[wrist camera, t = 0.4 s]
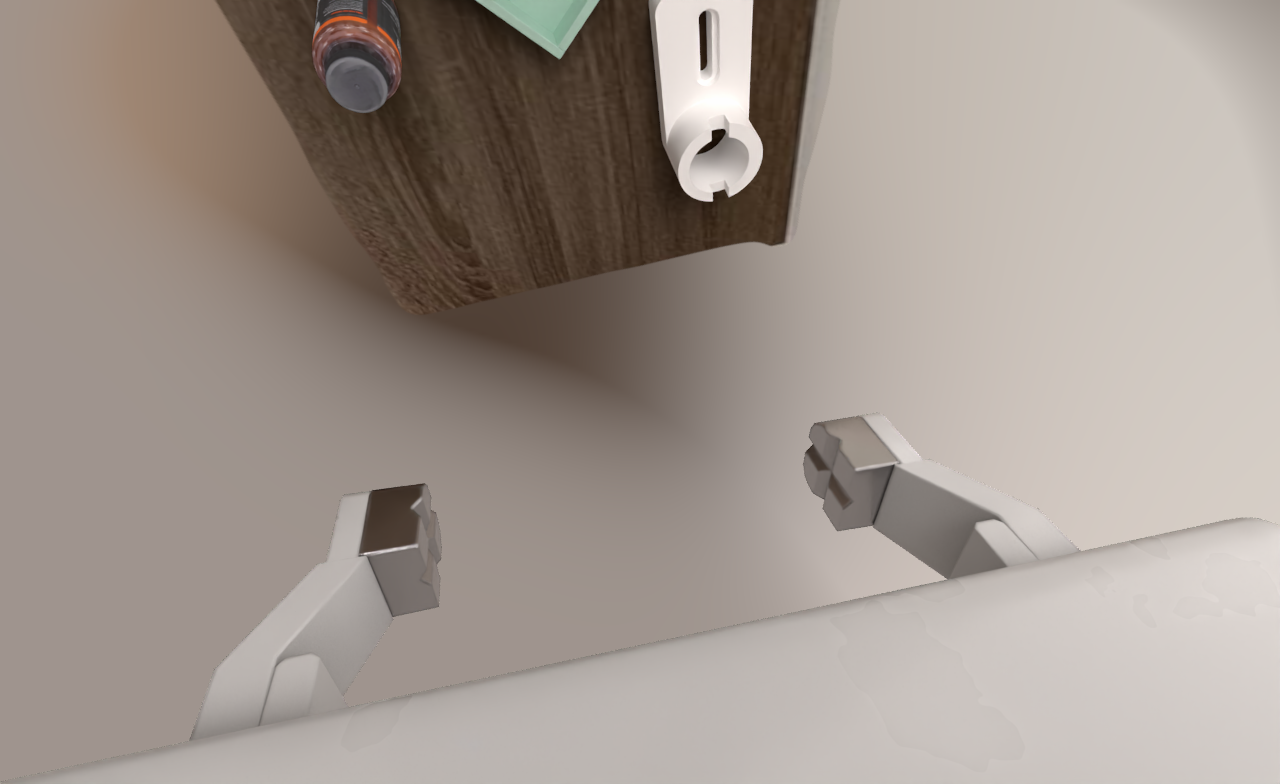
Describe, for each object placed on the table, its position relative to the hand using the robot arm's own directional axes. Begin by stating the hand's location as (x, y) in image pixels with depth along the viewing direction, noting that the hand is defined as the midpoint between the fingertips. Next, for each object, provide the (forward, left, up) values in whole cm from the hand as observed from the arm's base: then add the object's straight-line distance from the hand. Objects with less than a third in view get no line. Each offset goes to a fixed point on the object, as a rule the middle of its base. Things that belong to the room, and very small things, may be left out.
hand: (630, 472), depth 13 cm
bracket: (+3, +27, -51) cm, 57 cm away
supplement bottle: (+15, -1, -51) cm, 53 cm away
